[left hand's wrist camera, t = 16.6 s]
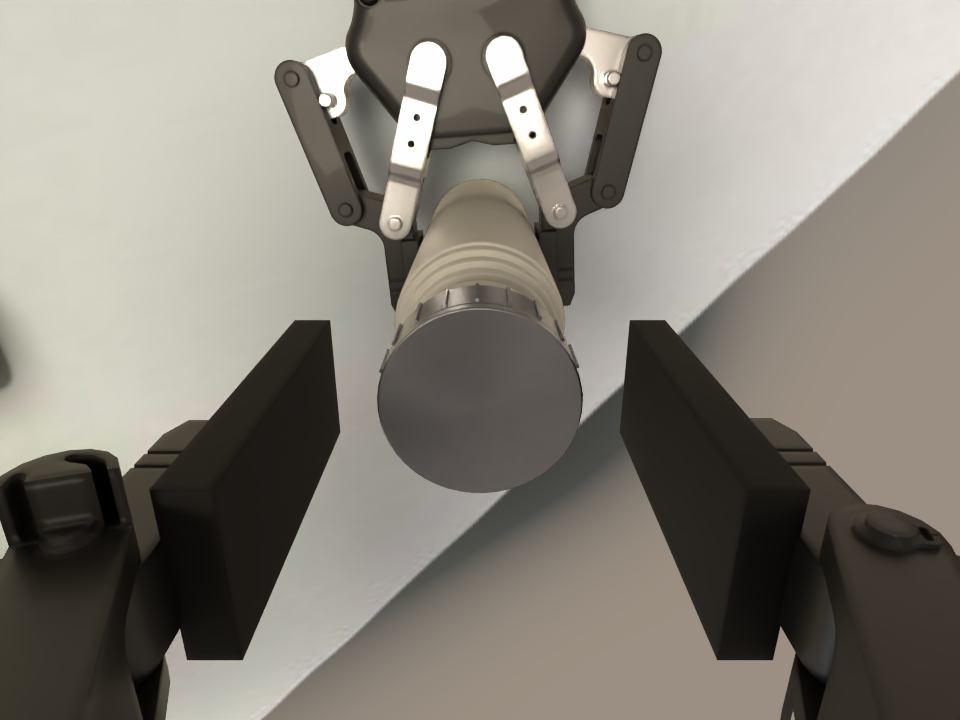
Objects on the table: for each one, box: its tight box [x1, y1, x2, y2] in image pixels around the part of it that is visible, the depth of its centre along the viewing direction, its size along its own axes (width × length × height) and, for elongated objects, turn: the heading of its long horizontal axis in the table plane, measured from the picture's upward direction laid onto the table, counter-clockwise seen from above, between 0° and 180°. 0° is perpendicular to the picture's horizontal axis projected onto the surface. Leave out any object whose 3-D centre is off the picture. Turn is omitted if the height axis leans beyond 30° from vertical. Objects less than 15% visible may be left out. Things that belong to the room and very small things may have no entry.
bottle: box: [395, 179, 565, 334], centre depth 22 cm, size 5×5×20 cm
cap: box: [377, 283, 583, 493], centre depth 14 cm, size 4×4×2 cm
